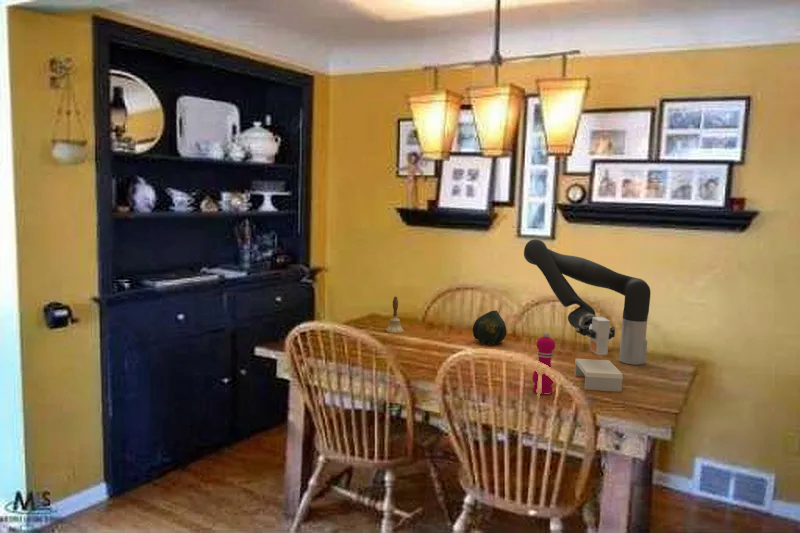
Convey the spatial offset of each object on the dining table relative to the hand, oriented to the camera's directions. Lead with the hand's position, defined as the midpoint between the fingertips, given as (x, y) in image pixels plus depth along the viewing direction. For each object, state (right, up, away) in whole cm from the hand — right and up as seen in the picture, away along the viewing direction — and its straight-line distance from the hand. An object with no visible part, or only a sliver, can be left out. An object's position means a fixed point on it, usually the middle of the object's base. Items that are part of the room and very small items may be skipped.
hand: (602, 335), depth 220 cm
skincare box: (0, -6, +4) cm, 7 cm away
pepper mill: (-22, -18, -8) cm, 30 cm away
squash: (-31, -10, +58) cm, 67 cm away
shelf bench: (0, -17, +5) cm, 18 cm away
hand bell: (-72, -6, +75) cm, 104 cm away
